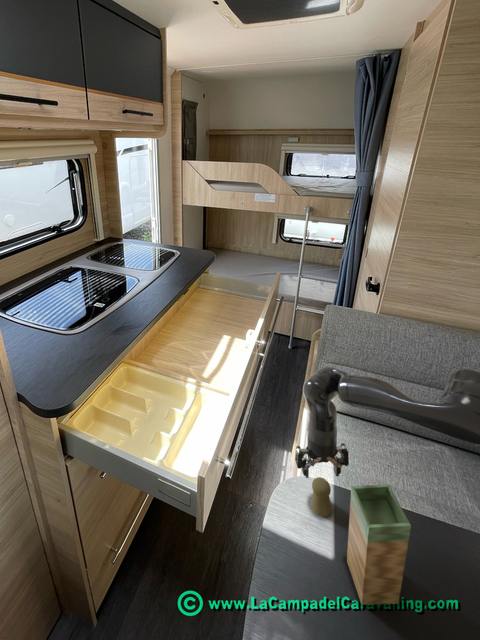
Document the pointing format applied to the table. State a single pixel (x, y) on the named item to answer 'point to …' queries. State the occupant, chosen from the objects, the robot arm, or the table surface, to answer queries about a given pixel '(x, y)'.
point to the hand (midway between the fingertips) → (321, 474)
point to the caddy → (377, 543)
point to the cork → (321, 497)
